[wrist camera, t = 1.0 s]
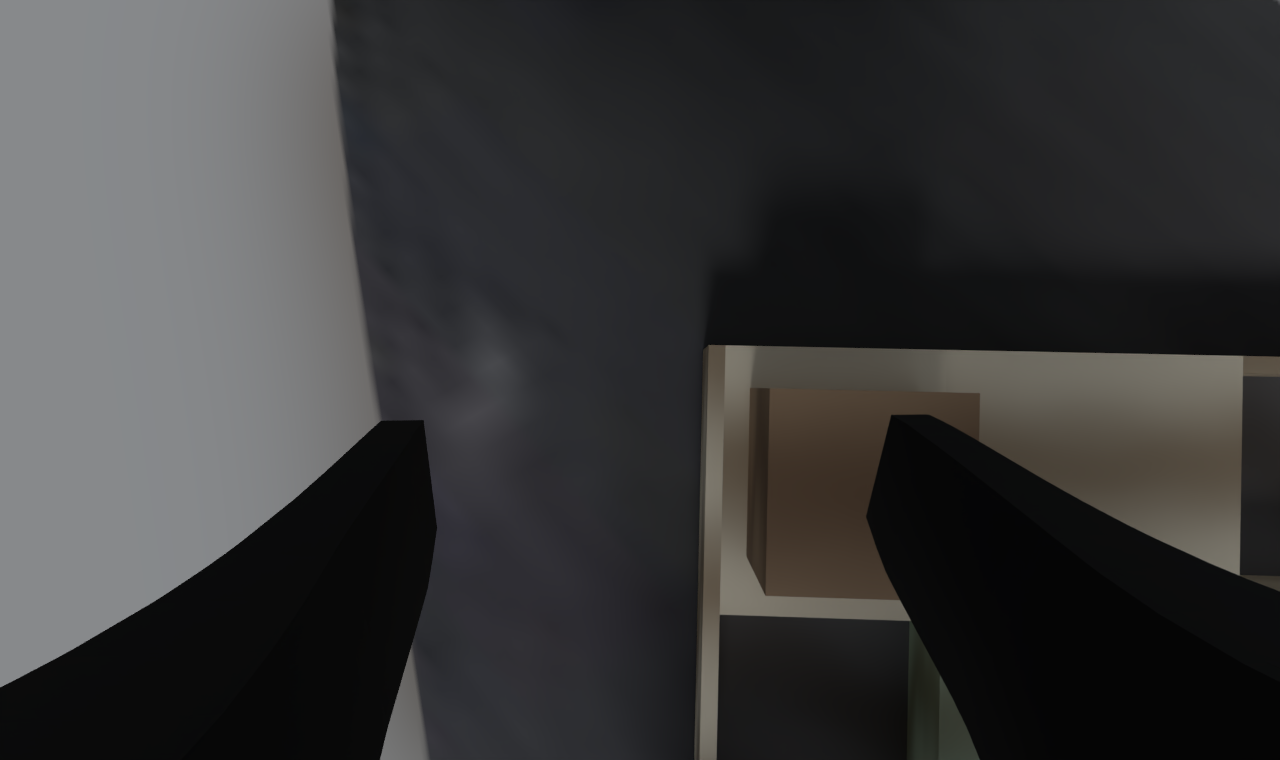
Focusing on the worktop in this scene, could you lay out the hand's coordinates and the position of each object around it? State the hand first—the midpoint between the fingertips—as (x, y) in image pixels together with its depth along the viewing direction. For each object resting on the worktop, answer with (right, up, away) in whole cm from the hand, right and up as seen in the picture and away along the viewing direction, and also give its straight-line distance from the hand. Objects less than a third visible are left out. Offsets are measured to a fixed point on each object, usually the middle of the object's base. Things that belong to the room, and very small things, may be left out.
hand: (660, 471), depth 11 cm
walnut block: (+5, -1, +10) cm, 11 cm away
